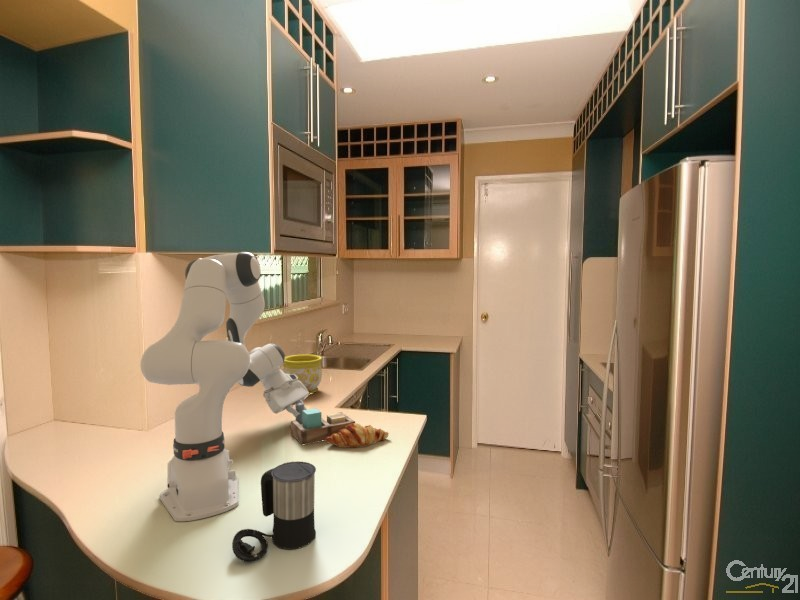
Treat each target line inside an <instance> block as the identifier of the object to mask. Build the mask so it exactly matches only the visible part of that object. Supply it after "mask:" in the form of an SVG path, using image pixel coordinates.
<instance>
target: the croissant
mask: <svg viewBox="0 0 800 600" xmlns="http://www.w3.org/2000/svg"><path fill="white" fill-rule="evenodd" d="M389 434H390V433H389V432H388V431H385V430H383V429H381V428H376V427H373V426H372V425H371V424H369V425H365V426H363V425H362V424H360V423H356V422H355V423H353V424H348V425H347V426H345V429H341V430H340V431H339V432H338V433H337V434H332V435H331V436H330V437H326V440H325V441H326V442H327V444H330V445H334V446H336V447H339V448H361V447H360V446H363V447H367V446H369V445H372V444H376V443H378V442H379V441H384V440H386V439H387V438H388V437H389ZM366 445H367V446H366Z"/></svg>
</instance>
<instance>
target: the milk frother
mask: <svg viewBox="0 0 800 600" xmlns="http://www.w3.org/2000/svg"><path fill="white" fill-rule="evenodd" d="M316 472H317V468H316V466H315V465H314V464H312V463H309V462H307V461H290V462H289V461H287V462H283V463H282V464H279V465H277V466H275V467H273V468H271V469H269V470H267V471H265V472H264V473H263V474H262V476H261V478H260V492H261V493H260V494H261V505H262V515H263V516H264V517H265V518H266V517H269V516H272V515H273V524H272V525H273V526H272V534H267V533H264V532H262V531H260V530H257V529H252V528H245V529H241V530H239V531H237V532H236V533H235V534H234V536H233V539H232V543H231V546H232V547H231V548H232V549H231V550H232V552H233V555H234V556H235V557H236V558H237V559H238V560H240V561H242V562H247V563H248V562H249V563H252V562H256V561H259V560H260V559H262V558H264V556H265V555H266V554H267V552H268V546H269V545H268V541H267V539H266V538H265V537H269V538H271V542H272V544H273V545H274V546H276V547H277V548H279V549H283V550H296V548H297V549H300V548H299V547H301V548H303V547H306V546H307V545H309V544H310V542H311V541H312V540H313V539H314V540H315V538H316V535H317V531H316V527H315V526H316V525H315V477H316V476H315V474H316ZM247 537H250V538H255V539H257V540H258V541H259V543H260V547H261V549H260V550H259V552H257V553H256V552H255V549H256V546H255V545H251V544H250V543H247V542H245V541H243V540H242V539H244V538H247ZM314 540H313V541H314ZM313 541H312V542H313ZM312 542H311V543H312ZM308 543H309V544H308ZM305 545H306V546H305Z"/></svg>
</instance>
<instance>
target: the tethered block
mask: <svg viewBox="0 0 800 600" xmlns="http://www.w3.org/2000/svg"><path fill="white" fill-rule="evenodd" d="M294 406H295V407H294V409H296V410H298V411H299V412H300V414H299V415H298V416H297V417H295V420H296V421H297V422H298V423H299V424H300V425H301V426H302V427H303V428H305V429H310V428H315V427H320V426H322V422H321V418H322V411H321V410H319V409H318V408H310V409H307V410H304V406H305V403H297V404H295V405H294Z"/></svg>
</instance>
